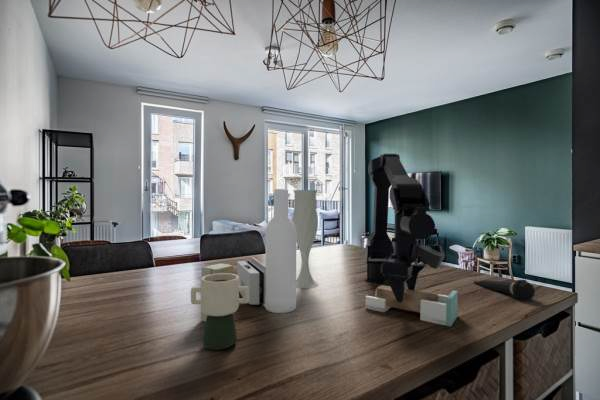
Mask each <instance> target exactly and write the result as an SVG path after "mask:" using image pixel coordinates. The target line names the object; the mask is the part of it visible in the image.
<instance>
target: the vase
mask: <svg viewBox="0 0 600 400" xmlns="http://www.w3.org/2000/svg"><path fill="white" fill-rule="evenodd" d="M317 192H318V189H311V190H310V189H294V190H293V193H294V208H293V213H292V221H293V223H294V225H295V228H296V245H297V246H298V250H299V253H300V257H301V266H300V272H299V274H298V276H297V278H296V289H314V288H316V287H318V286H319V283H318V282H317V281H315V279H314V278H313V276H312V274H311V272H310V265H309V259H310V254H311V253H310V252H311V250H312V248H313V244H314V242H315V239H316V236H317V233H318V225H319V224H318V223H319V220H318V212H317V211H318V210H317Z"/></svg>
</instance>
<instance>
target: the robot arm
mask: <svg viewBox="0 0 600 400" xmlns="http://www.w3.org/2000/svg"><path fill="white" fill-rule="evenodd" d="M367 170H368V171H367V172H368V175H369V179H370V182H371V184H372V185H373V187H374V190H373V193H374V194H373V196H374V197H373V214H372V215H373V218H372V219H373V220H372V231H371V233H370V234H369V236H368V237H367V243H366V244H365V248H364V251H363V262H365V263H366V278H365V279H364V281H365V282H371V283H377V284H385V283H388V286H390V287H391V289H392V291H393V293H394V295H395V298H396V300H397V302H402V301H403V296H404V290H405V289H406V287H407V289H409V290H415V291H416V287H417V283H418V279H419V276H420V272H421V271H422V270H424V269H425V268H426V267H427V265H428V266H429V267H431V268H432V269H435V270H436V269H438V268H440V267H441V265H442V262H443V260H444V259H445V256H446V255H445V252H443V247H442V245H440V244H436V243H435V244H433V246H431V247H430V245H424V244H423V240H425V239H429V238H430V237H432V235H433V234H434V232H435V230H436V222H435V220H434V219H433V217H432V216H431V215H430V214H428V213H427V212H429V211H430V205H431V203H430V201H429V198H428V195H427V194H426V191H425V188H424V187H423V185H422V184H421V182H419V181H418V179H416V178H414V177H411V176H409V174H408V171H406V169H405V167H404V165H403V164H402V162H401V158H400V154H397V153H389V152H388V153H387V152H385V153H381V154H380V156H378V157H376V158H373V159H371V160H370V162H369V164H368V167H367ZM389 201H390V204H391V206H392V209H393V210H394V237H391V238H390V235H389V234H388V225H389V224H388V223H389V222H388V221H389V220H388V218H389ZM393 243H394V246H393Z"/></svg>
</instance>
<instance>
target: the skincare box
mask: <svg viewBox="0 0 600 400" xmlns="http://www.w3.org/2000/svg"><path fill="white" fill-rule="evenodd" d="M218 273H230V274H234V265H232V264H228V263H223V262H222V263H217V264H211V265H208V266H202V267H201V278H202V277H204V276H207V275H211V274H218ZM232 314H233V313H232ZM233 315H234V314H233ZM207 316H208V315H206V314H204V313H203V312H202V310H201V309H200V321H203V322H204V323H206V318H207Z"/></svg>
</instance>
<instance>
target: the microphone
mask: <svg viewBox="0 0 600 400" xmlns="http://www.w3.org/2000/svg"><path fill="white" fill-rule="evenodd" d="M473 283H474V284H476V285H478V286H481V287H483V288H486V289H490V290H493V291H497V292H501V293H504V294H508V295H512V296H514V297H515V298H516V299H517V300H520V301H525V300H531V299H533V297H535V291H536V290H535V287H534V285H533V284H532V283H530V282H528V281H527V280H526V279H517V280H515V282H512V281H511V282H510V281H498V280H486V279H484V280H480V281H479V280H476V281H475V280H474V281H473Z"/></svg>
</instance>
